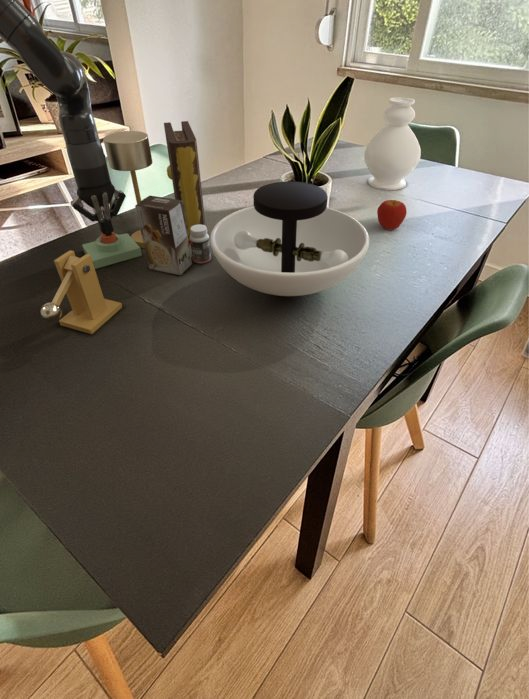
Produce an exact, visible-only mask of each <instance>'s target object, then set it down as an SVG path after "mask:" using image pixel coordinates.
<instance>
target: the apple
mask: <svg viewBox="0 0 529 699" xmlns="http://www.w3.org/2000/svg"><path fill="white" fill-rule="evenodd" d="M376 213H377V214H376V216H377V221H378V224H379V226H380V227H381V228H382V229H384V230H388V231H393V230H396V229H398V228H400V226H401V225H402V224H403V222H404V221H405V219H406V217H407V206H406V205H405V203H404V202H402V201H400V200H395V199H387V200H384V201H382V202H381V203H380V204H379V206H378V207H377V211H376Z"/></svg>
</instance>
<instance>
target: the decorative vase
mask: <svg viewBox="0 0 529 699" xmlns="http://www.w3.org/2000/svg"><path fill="white" fill-rule="evenodd" d="M415 102H416V100H415V99H414V98H411V97H404V96H395V97H390V98H389V99H388V103H389V104H390V106H388V107H387V108H386V109H385V110H384V112H383V119H384V120H385V121H386V123H387V124H385V125H384V126H382V128H381V129H379V130H378V131H377V132H376V133H375V134H374V135H373V136H372V138H371V139H370V140H369V141H368V142H367V145H366V146H365V150H364V153H363V159H364V163H365V165H366V167H367V169H368V171H369V172H370V174H371V175H372V176H371V177H369V178H368V179H367V180H368V181H367V182H368V185H369V186H371V187H373V188H375V189H377V190H378V189H379V190H384V191H397V190H401V189H404V188H405V187H406V186H407V181H406V180H405V178H406V177H407V176H408V175H409V174H411V173H412V171H414V170H415V168H417V166H418V164H419V163H420V160H421V154H422V150H421V146H420V143H419V140H418V138H417V137H416V134H415V132H414V131H413V130H412V129H411V127H410V125H409V124H411V123H412V121H413V120H414V119H415V118H416V111H415V109H414V108H413V107H412V105H414V104H415Z"/></svg>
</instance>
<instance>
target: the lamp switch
mask: <svg viewBox="0 0 529 699" xmlns="http://www.w3.org/2000/svg"><path fill="white" fill-rule="evenodd" d="M80 258H81V257H79V256H76V257H74V256H70V257H69V259H68V260H67V262H66V264H65V266H64V269H66V270H67V271H68V272H67V274H66V276H65V277H64V279H63V281H61V283H60V285H59V287H58V289H57V291H56V292H55V295H54V297H53V299H52V301H51V302H50V301H49V302H46V303H44V304H42V306H41V307H40V310H39V311H40V316H41V317H42V318H43V320H44V321H46V322H50V323H54V322H57V321H59V320H60V319H61V317H62V315H63V310H62V307H61V303H62V302H63V299H64V298H65V295H67V294H66V292H67V290H68V288H69V286H70V284H71V282H72V280H73V278H74V273H73V270H72V267H71V264H72V263H74V262H75V261H77V260H78V259H80Z"/></svg>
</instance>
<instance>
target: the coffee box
mask: <svg viewBox="0 0 529 699" xmlns="http://www.w3.org/2000/svg"><path fill="white" fill-rule="evenodd" d="M134 208H135V211H136V216H137V221H138V225H139V230H141V234H142V239H143V243H144V247H145V248H144V251H145V252H144V253H145V256H146V260H147V265H148V269H149V270H152V271H158V272H163V273H166V274H167V273H168V274H171V275H172V274H173V275H177V276H181V275H183V274H184V272H186V271H187V270H188V269H189V268H190V267H191V266H192V264H193V260H192V253H191V246H190V244H189V240H188V233H187V226H186V220H185V213H184V206H183V201H182V200H176V199H175V198H169V197H162V196H156V195H148V196H146V197H144V198H143V199H141V201H140V203H138V204H137V203H136V205H135V206H134Z"/></svg>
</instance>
